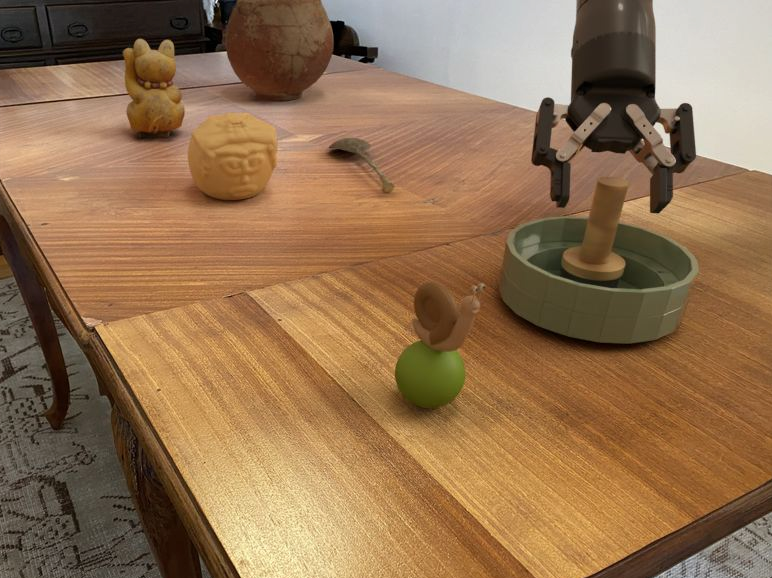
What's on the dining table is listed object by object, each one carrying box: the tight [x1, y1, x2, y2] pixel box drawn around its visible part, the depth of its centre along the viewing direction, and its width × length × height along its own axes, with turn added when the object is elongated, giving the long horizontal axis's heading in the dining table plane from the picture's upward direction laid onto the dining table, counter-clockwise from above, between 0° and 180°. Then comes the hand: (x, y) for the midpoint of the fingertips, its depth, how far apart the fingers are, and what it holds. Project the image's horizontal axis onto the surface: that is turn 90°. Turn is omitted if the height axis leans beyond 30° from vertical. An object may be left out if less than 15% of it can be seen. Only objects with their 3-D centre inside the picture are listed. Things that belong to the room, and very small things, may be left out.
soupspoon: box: [328, 137, 396, 194], centre depth 106 cm, size 22×3×7 cm
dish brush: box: [560, 176, 630, 288], centre depth 70 cm, size 6×6×11 cm
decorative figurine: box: [122, 38, 186, 139], centre depth 117 cm, size 10×8×15 cm
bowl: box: [497, 215, 700, 345], centre depth 69 cm, size 17×17×6 cm
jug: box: [224, 0, 335, 102], centre depth 138 cm, size 22×22×30 cm
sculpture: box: [187, 111, 278, 201], centre depth 94 cm, size 12×12×11 cm
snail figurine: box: [394, 281, 486, 409], centre depth 53 cm, size 5×6×12 cm
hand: (610, 207), depth 66 cm, fingers open, 8 cm apart
